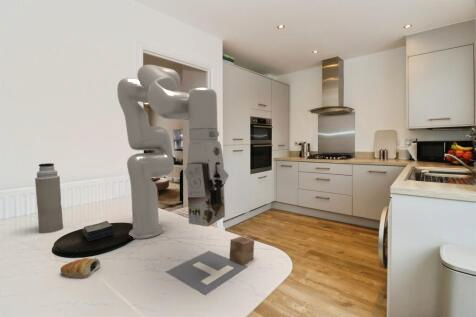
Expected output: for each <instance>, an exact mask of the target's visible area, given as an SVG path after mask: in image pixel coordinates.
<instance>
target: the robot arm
mask: <svg viewBox="0 0 476 317" xmlns="http://www.w3.org/2000/svg"><path fill="white" fill-rule="evenodd" d="M136 74H137V76H136V77H137V78H136V77H135V78H134V77H126V78H121V79H120V81H119V82H118V84H117V92H116V93H117V99H118V102H119V105H120V108H121V110H122V112H123V115H124V120H125V125H126V126H125V127H126V136H127V140H128V145H129V148H130V149H132V150H135V151H156V152H146V153H145V152H144V153H143V152H142V153H135V154H133V155H131V156H129V157H128V159H127V162H126V165H127V166H126V167H127V171H128V176H129V182H130V192H131V194H130V195H131V212H132V213H131V214H132V221H131V225H132V229H131V230H129V232H128V236H129V235H130V236H132V237H133V238H132V239H136V240H142V239H143V240H144V239H150V238H153V237H156V236H159V235H161V234H162V233H163V231H164V228H163V226H162V225H160V223H159V220H160V219H159V218H160V217H159V197H158V187H157V185H156V183H155V182H154V181H153V180H152V179H151V178H154V177H162V176H167V175H168V176H169V175H170V174H172V173H173V171H174V167H175V165H174V156H173V148H172V142H171V136H170V134H169V132H168V130H167V129H166V128H165V127H162V126H152V125H150V121H149V120H150V119H149V115H148V113H147V111H146V110H145V109H144V107H143V106H141V105H140V103H139V102H141V103H146V104H147V103H148V106H149V107H150V109H151V110H153V111H154V113H155V114H157V116H159V117H161V118H164V119H169V120H185V121H188V145H187V146H188V148H187V163H208V176H209V180H210V184H211V187H212V190H211V191H210V195H211V205H212V206H214V205H218V204H221V189H222V188H223V185H224V186H225V184H226V181H227V180H228V178H229V174H228V173H227V171H226V170H225V166H224V165H225V164H224V155H223V149H222V145H221V142H220V141H219V139H218V137H219V136H220V132H219V130H218V102H217V101H218V98H217V92H216V91H215V90H214V89H213V88H209V87H193V88H191V89H190V90H189V91H188V92H184V91H179V89H180V87H181V77H180V75H179V73H178V72H177V71H176V70H174V69H172V68H167V67H164V66H161V65H159V66H158V65H155V64H144V65H141V66H140V68H139V69H138V71H137V73H136ZM187 163H186V164H187ZM183 173H184V175H185V177H186V178H187V167H186V168H185V169H184V171H183ZM214 175H215V177H214ZM218 175H219V176H218ZM214 181H216V184H215V182H214ZM130 236H129V237H130Z"/></svg>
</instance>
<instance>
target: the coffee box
mask: <svg viewBox="0 0 476 317" xmlns="http://www.w3.org/2000/svg"><path fill="white" fill-rule="evenodd" d="M186 168H187V177H186V181H187V182H186V183H187V207H188V208H187V209H188V210H187V211H188V224H190V225H195V226H202V227H210V226H211V225H213V224H215V223H217V222H218V221H220V220H222V219H223V218H225V217H226V213H225V212H226V208H225V207H226V206H225V184H224V185H223V188H222V189H221V204H218V205H214V206H212V205H211V195H210V191H211V190H212V187H211V184H210V180H209V176H208V163H186ZM218 176H219V175H218ZM214 177H215V175H214ZM214 182H215V184H216V181H214Z"/></svg>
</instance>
